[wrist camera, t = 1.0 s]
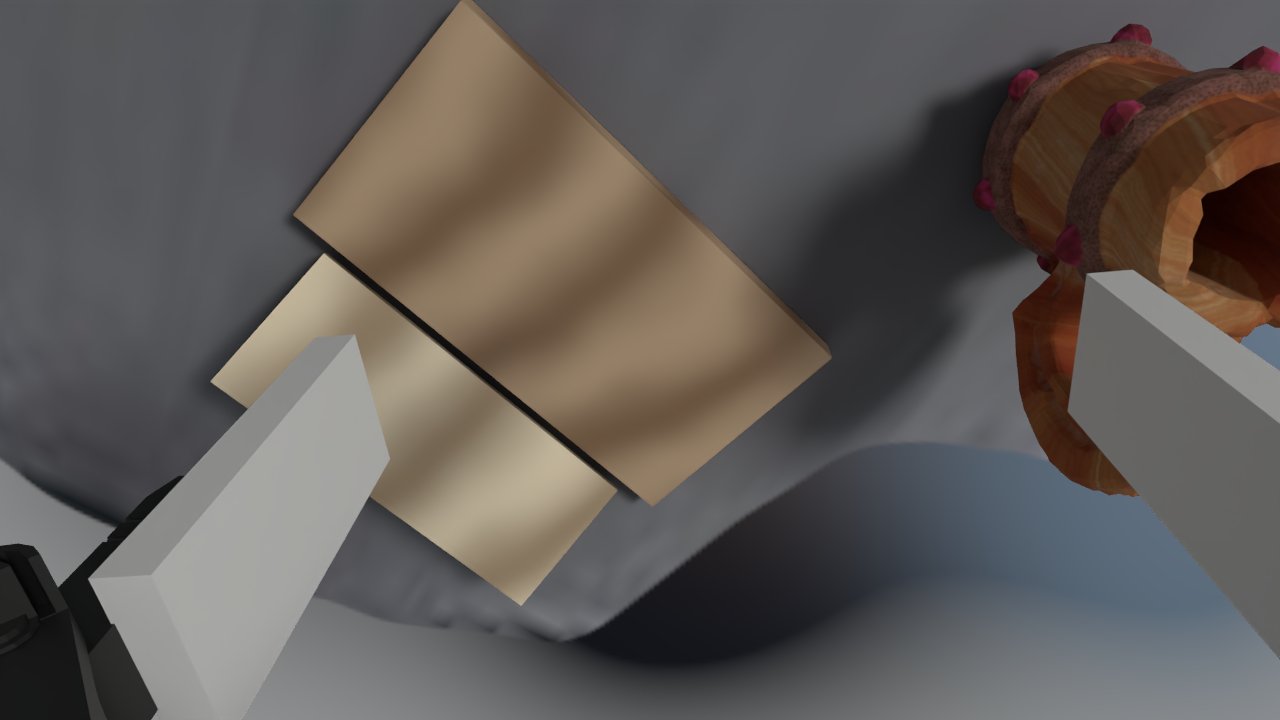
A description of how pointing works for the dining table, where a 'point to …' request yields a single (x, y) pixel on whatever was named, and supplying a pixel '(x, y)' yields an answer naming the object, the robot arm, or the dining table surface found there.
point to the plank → (437, 434)
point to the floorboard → (558, 261)
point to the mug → (1133, 205)
